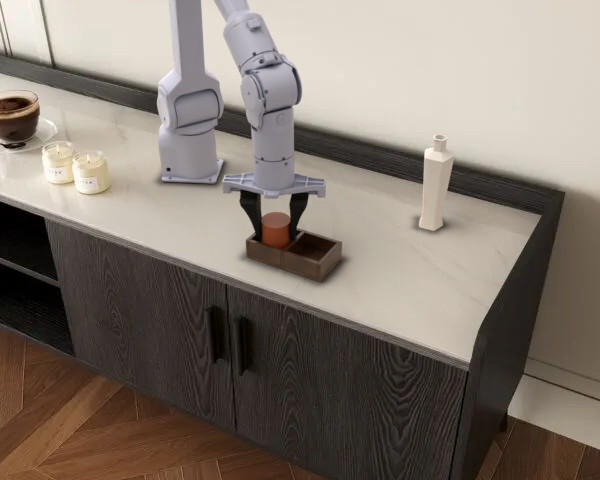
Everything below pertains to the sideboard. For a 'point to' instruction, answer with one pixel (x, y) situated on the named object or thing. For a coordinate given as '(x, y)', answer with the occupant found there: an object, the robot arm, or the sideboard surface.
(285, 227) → the orange cylinder
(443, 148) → the white vase
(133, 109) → the sideboard surface
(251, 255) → the divided tray
